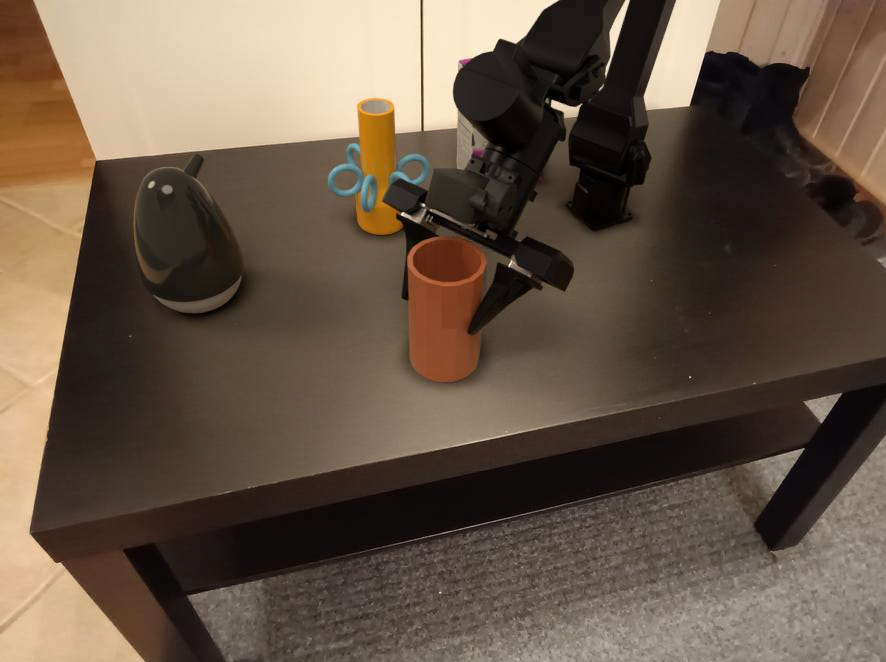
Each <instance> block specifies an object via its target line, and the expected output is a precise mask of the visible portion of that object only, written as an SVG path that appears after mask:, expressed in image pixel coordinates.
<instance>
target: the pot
mask: <svg viewBox="0 0 886 662" xmlns="http://www.w3.org/2000/svg"><path fill="white" fill-rule="evenodd" d="M487 266H488V263H487V257H486V254H485V252H484V251H483V250H482V249H481V247H480V246H478V244H476V243H475V242H473V241H471V240H469V239H467V238H461V237H457V236H452V235H451V236H450V235H446V236H445V235H442V236H440V237H433V238H430V239H426V240H423V241H421V242H420V243H418V244H417V245H415V246H414V247H413V248H412V249H411V251H410V253H409V255H408V256H407V270H408V301H407V305H408V306H407V307H408V308H407V309H408V311H407V313H408V349H409V361H410V365H411V367H412V368H413V369H414V371H415V372H416V373H417V374H418V375H419V376H421V377H423V378H424V379H426V380H428V381H431V382H436V383H453V382H458V381H461V380H464V379H465V378H467V377H469V376H470V375H471V374H472V373H474V371H475V370H476V369H477V367H478V365H479V361H480V360H479V359H480V354H481V343H482V342H481V341H482V330H483V328H482V329H481V330H480V331H479V332H477V333H476V334H475V335H473V336H472V335H470V334H468V333H467V330H468V328H469V325H470V323H471V320H472V318H473V316H474V314H475V312H476V311H477V309H478V307H479V305H480V304H481V302H482V300H483V298H484V297H485V294H486V293H485V291H486V280H487V268H488V267H487Z"/></svg>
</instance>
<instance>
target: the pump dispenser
mask: <svg viewBox="0 0 886 662" xmlns="http://www.w3.org/2000/svg"><path fill="white" fill-rule="evenodd" d="M204 162H205V158H204V156H203V155H202V154H201V153H193V155H192V156H191V158H190V159H189V160H188V162H187V163H186V165H185V166H184V168H183V169H181V168H179V167H176V166H175V167H173V166H163V167H158V168H155V169H153V170H151V171H150V172H148V173H147V174H146V175H145V176H144V178H143V179H142V180H141V182H140V184H139V187H138V189H137V192H136V195H135V200H134V206H133V218H132V219H133V221H132V231H133V232H132V234H133V235H132V236H133V248H134V256H135V262H136V266H137V271H138V275H139V278H140V280H141V284H142V285H143V287H144V288H145V289H146V290H147V292H149V293H150V294H151V295H153V297H154V298H155V299H156V300H158V301H159V302H160V303H161V304H162V305H163V306H165V307H167V308H169V309H171V310H172V311H177V312H180V313H185V314H202V313H207V312H210V311H214V310H217V309H218V308H221V307H222V306H224V305H225V304H226V303H228V302H229V301H230V300H231V299H232V298H233V296H235V294H236V293H237V291H238V289H239V287H240V284H241V281H242V276H243V273H244V270H245V259H244V255H243V251H242V249H241V246H240V242H239V241H238V238H237V236H236V234H235V231H234V230H233V227H232V225H231V224H230V221H229V220H228V218H227V217H226V215H225V213H224V212H223V210H222V208H221V207H220V205H219V204H218V202H217V201H216V199H215V198H214V197H213V195H212V194H211V193H210V192H209V190H208V189H207V188H206V187H205V186H204V185H203V184H202V182H200V181H199V180H198V179H197V178H198V176H199V174H200V171H201V169H202V167H203V164H204Z"/></svg>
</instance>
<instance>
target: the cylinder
mask: <svg viewBox="0 0 886 662" xmlns="http://www.w3.org/2000/svg"><path fill="white" fill-rule="evenodd" d="M356 111H357V123H358V125H357V126H358V138H359V144H358V143H354V142H353V143H350V144H349V145H348V146H347V147H346V160H347V163H342V164H338V165H337V166H335V167H333V169H332V170H331V171H330V172H329V174H328V176H327V186H328V187H327V188H328V189H329V191H330V192H331V193H332V194H334V195H335V196H337V197H338V198H350V197H353V196H354V198H355V208H356V209H355V210H356V220H357V224H358V226H359V227H360V228H361V229H362V230H363V231H364V232H366V233H369V234H372V235H377V236H378V235H379V236H386V235H392V234H395V233H397V232H399V231H401V230H402V229H404V228H403V225H402V222H400V221H399V220H397V219H396V213H398V214H400V215H401V213H400V212H399V211H397V210H395V209H394V208H392V207H390V206H389V205H387V204H385V203H384V202H382V199H383V197H384V194H385V192H386V190H387V188H388V186H389V185H390V184H392V183H393V182H395V181H396V180H398V179H399V178H401V179H404V180H406V181H408V182H410V183H412V184H415V185H417V186H420V185H421V184H423V183H424V182H425V181H426V180H427V178H428V177H429V174H430V170H431V169H430V168H431V167H430V163H429V161H428V159H427V158H426V157H424V156H423V155H421V154H419V153H410V154H407V155H405V156H403V157H402V158H401V159H400V160H399V161H398V162H397V144H396V141H397V140H396V119H395V118H396V117H395V115H396V113H395V105H394V103H393V102H392V101H391V100H388V99H386V98H381V97H371V98H370V97H369V98H366V99H363V100H360V101H359V102H358V103H357V105H356ZM354 151H355V152H357V153H358V154H359V156H360V167H361V168H360V167H359V166H357V164H356V162H355V159H354ZM411 162H419V164H421V165H422V172H421V174H420V176H418V177H417V178H415V179H410V177H409V176H408V175H407V174H406V173H404V172H403V169H404V167H405V166H406V165H407V164H408V163H411ZM347 171H348V172H352V173H353V174H354V175H355V176H356V178H357V181H356V183H355V185H354V186H353V187H352V188H350V189H346V190H343V189H340V188H338V187H337V186H336V183H335V181H336V178H337V177H338V175H339V174H341V173H343V172H347Z"/></svg>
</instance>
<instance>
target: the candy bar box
mask: <svg viewBox="0 0 886 662" xmlns="http://www.w3.org/2000/svg"><path fill="white" fill-rule="evenodd" d="M472 58H473V57H470V58H464V59H459V60H458V65H457V67H458V68H457V72H458V71H459V70H460V69H461V68H463V67H464V66H465V65H466V64H467V62H469V61H470V60H471V59H472ZM545 102H546V103H548V104H549V105H550V106H551V107H552V102H553V100H551V99H548V98H546V101H545ZM456 127H457V128H456V168H457V169H461V170H464V169H465V167H466V166H467V164H468V162H469V160H470V159H471V158H472V157H473V155H477V156H479V157H481V155H482V153H483V151H484V149H485V147H486V145H487V143H488V141H487V140H486V139H485V138H484V137H483V136H482V135H481V134H480V133H479V132H478V131H477V130H476V129H475V128H474V127H473V126H472V124H471V123H470V122H469V121H468V120H467V119H466V118H465V117H464V116H463V115H462V114H461V113H460V111H459V110H458V109H457V125H456ZM543 176H544V171H543V172H542V174H541V176H540V178H539V180H538V182H539V181H542V180H543Z"/></svg>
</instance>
